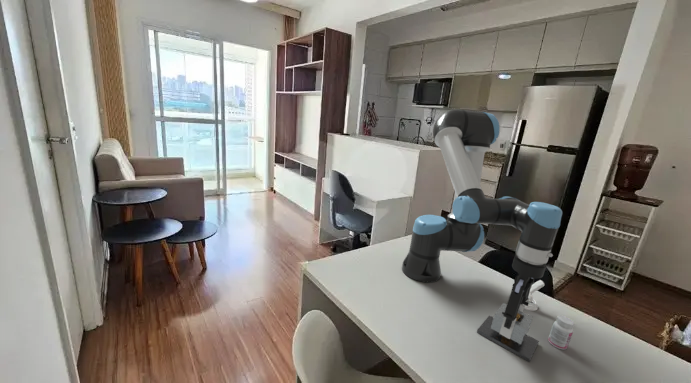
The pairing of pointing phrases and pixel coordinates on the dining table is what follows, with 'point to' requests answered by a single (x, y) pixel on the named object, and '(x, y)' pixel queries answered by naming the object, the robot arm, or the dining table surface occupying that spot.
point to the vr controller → (534, 288)
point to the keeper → (509, 340)
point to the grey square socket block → (519, 327)
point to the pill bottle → (561, 332)
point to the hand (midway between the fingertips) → (509, 328)
